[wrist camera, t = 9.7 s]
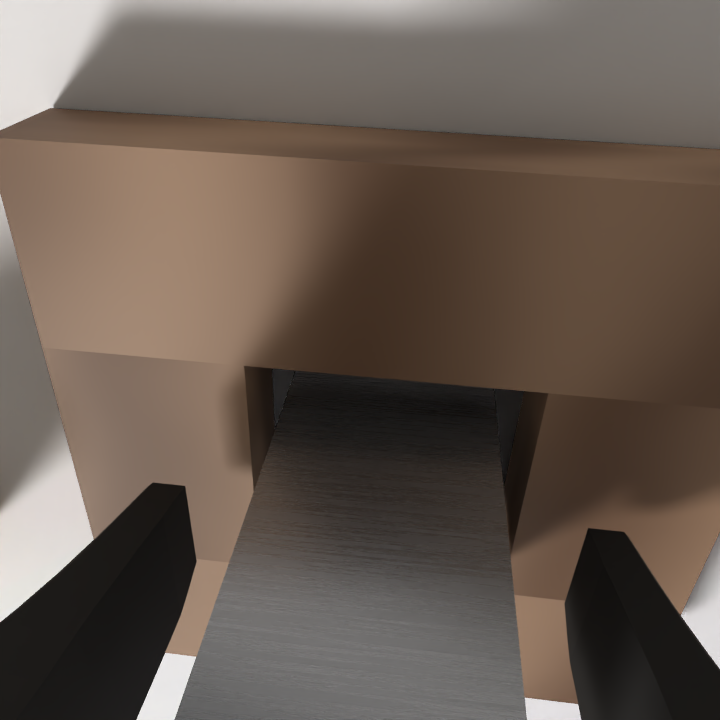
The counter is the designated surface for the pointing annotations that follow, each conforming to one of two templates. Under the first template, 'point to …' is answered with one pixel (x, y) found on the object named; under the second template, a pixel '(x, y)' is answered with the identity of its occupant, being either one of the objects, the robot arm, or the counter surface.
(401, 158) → the frame
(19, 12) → the counter surface
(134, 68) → the counter surface
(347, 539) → the square bit
